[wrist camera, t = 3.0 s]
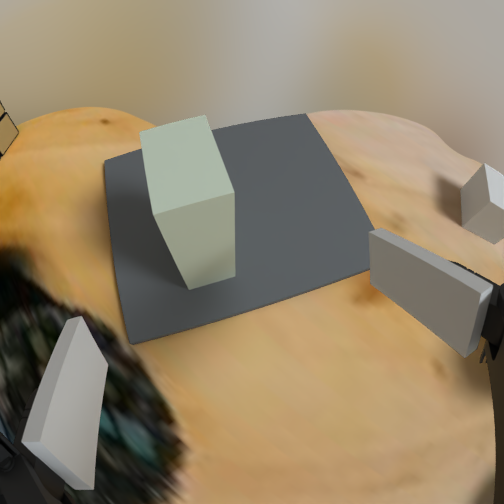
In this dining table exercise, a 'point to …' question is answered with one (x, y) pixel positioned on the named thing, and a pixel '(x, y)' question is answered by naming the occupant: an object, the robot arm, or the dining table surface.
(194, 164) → the sage block
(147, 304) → the mat
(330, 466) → the dining table surface
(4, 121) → the puzzle cube
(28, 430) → the robot arm
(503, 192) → the small light-grey cube
